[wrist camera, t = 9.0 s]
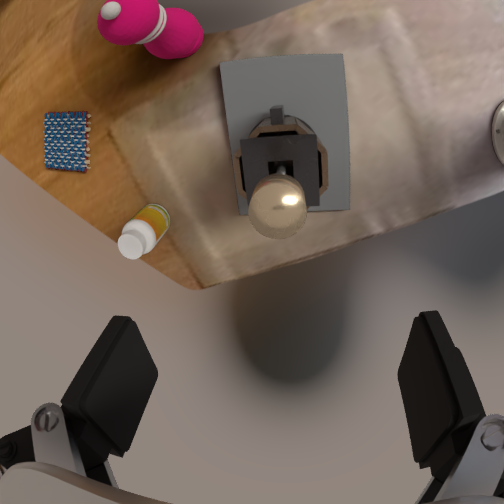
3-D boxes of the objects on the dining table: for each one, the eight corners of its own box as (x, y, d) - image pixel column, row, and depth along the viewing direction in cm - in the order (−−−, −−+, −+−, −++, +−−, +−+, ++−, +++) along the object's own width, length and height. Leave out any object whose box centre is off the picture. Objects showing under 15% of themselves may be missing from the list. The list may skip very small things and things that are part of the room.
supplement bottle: (147, 197, 46) (118, 222, 38) (176, 212, 47) (152, 241, 39) (137, 223, 49) (109, 252, 40) (164, 238, 50) (140, 270, 41)
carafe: (316, 103, 36) (328, 106, 25) (321, 183, 41) (332, 217, 30) (241, 108, 37) (222, 114, 27) (250, 187, 42) (237, 222, 32)
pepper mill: (182, 71, 36) (104, 62, 19) (148, 43, 34) (59, 25, 17) (218, 34, 33) (162, -6, 16) (182, 7, 31) (109, -38, 14)
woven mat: (49, 167, 45) (43, 170, 44) (49, 111, 40) (41, 113, 38) (92, 171, 45) (86, 175, 44) (94, 110, 40) (86, 111, 38)
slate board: (341, 55, 33) (342, 54, 32) (348, 206, 43) (349, 209, 42) (221, 63, 35) (219, 62, 34) (240, 211, 46) (239, 214, 45)
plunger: (309, 123, 35) (331, 155, 18) (312, 178, 39) (332, 258, 21) (251, 127, 36) (215, 163, 19) (257, 181, 40) (230, 262, 22)
